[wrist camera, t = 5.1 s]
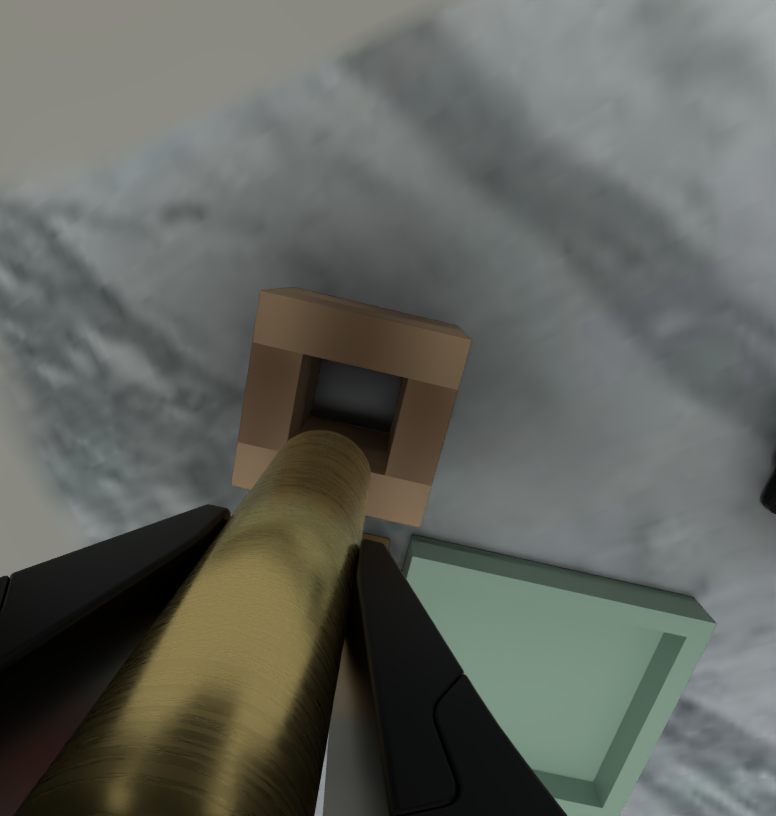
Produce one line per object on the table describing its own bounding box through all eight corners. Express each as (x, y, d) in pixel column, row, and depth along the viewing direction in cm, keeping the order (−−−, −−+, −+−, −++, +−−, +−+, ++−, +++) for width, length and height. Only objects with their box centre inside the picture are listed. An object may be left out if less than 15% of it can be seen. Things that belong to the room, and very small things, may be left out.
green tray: (693, 597, 23) (717, 623, 21) (600, 789, 26) (614, 825, 25) (412, 534, 22) (412, 556, 21) (356, 737, 26) (353, 770, 24)
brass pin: (360, 530, 12) (271, 1018, 4) (265, 509, 12) (-8, 963, 4) (380, 442, 11) (322, 823, 3) (281, 419, 11) (-12, 754, 3)
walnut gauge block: (457, 325, 20) (471, 340, 15) (417, 475, 22) (420, 527, 17) (293, 287, 19) (260, 290, 15) (267, 442, 21) (231, 485, 17)
